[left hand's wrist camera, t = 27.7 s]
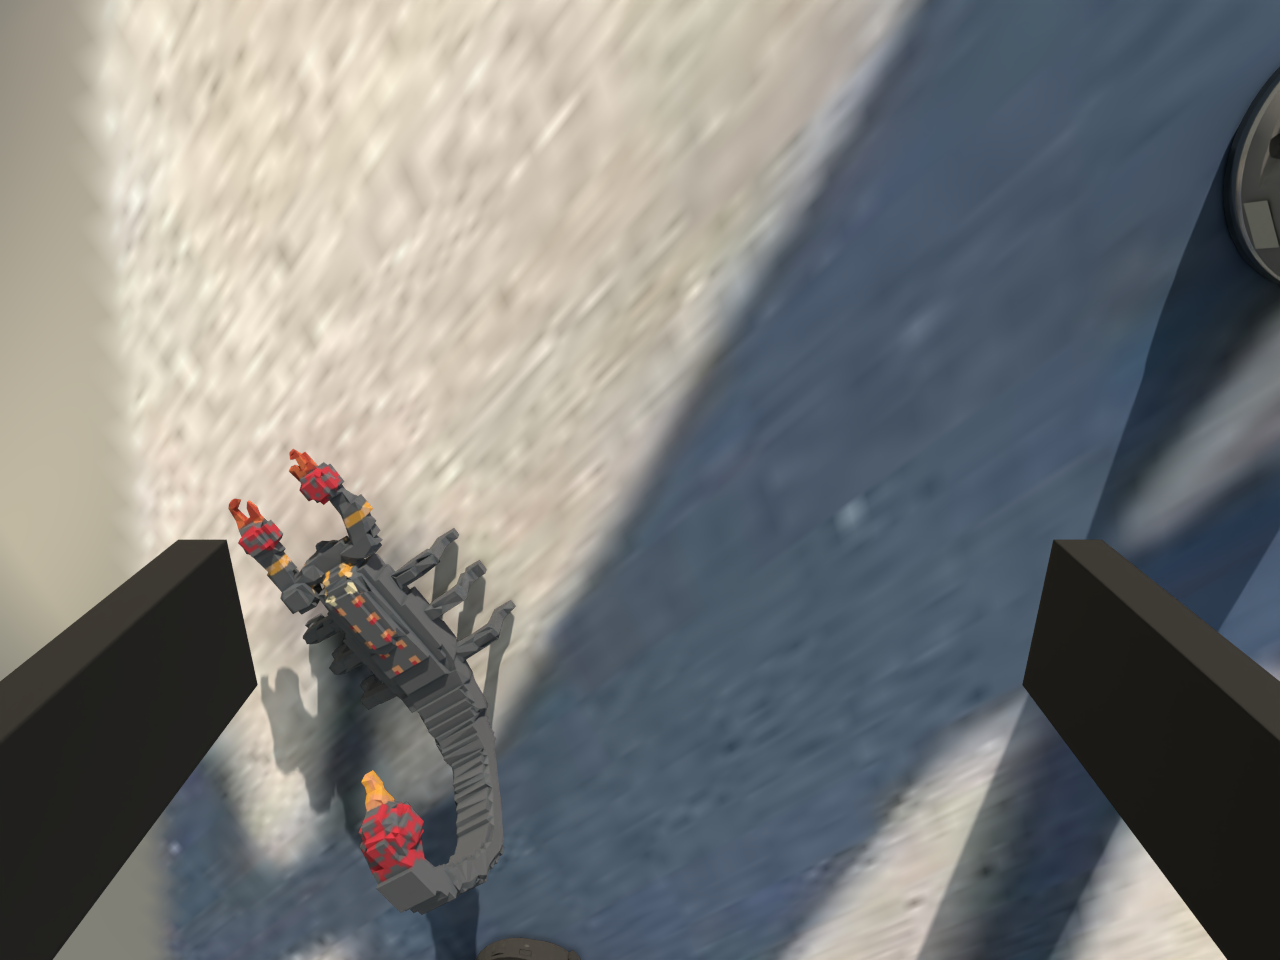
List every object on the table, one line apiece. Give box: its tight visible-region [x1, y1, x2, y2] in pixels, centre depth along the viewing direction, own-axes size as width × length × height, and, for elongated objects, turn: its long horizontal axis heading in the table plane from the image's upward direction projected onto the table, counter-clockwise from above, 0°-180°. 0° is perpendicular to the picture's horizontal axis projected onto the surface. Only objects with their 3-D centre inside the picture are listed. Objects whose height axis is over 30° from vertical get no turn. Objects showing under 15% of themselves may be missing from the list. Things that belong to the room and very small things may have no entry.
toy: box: [228, 449, 515, 915], centre depth 47 cm, size 13×27×18 cm, turn 32°
